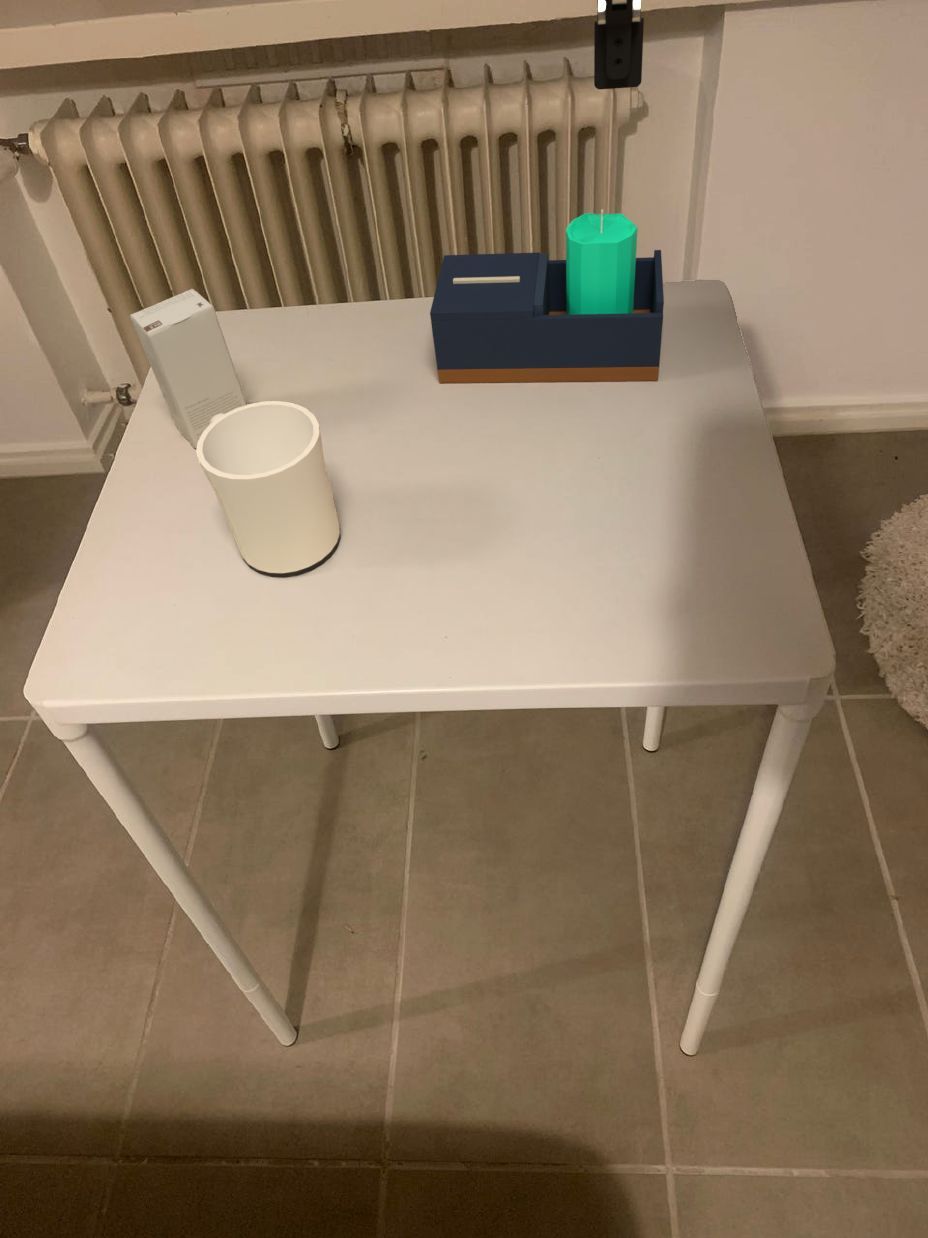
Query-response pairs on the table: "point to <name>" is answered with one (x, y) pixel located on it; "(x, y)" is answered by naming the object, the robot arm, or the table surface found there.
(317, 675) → the table surface
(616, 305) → the candle
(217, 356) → the cosmetic box
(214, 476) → the mug
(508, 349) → the navy slotted box
